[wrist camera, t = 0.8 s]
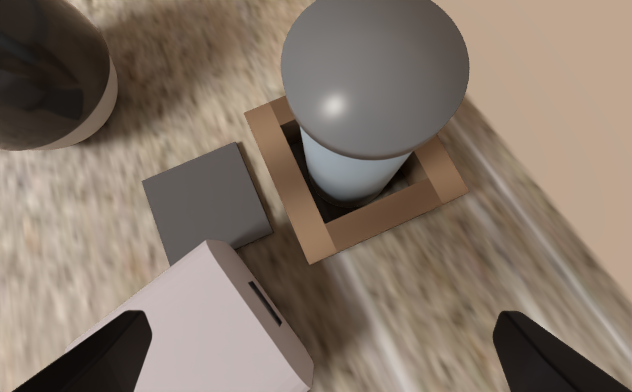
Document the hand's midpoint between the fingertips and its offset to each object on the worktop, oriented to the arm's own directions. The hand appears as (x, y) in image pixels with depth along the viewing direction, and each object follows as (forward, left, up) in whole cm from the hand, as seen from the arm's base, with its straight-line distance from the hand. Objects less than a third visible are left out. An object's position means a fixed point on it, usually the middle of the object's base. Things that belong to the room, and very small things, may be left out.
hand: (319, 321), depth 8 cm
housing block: (+7, -5, -13) cm, 15 cm away
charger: (-1, +11, -13) cm, 17 cm away
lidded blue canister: (+7, -5, -13) cm, 15 cm away
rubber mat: (+8, +5, -13) cm, 16 cm away
